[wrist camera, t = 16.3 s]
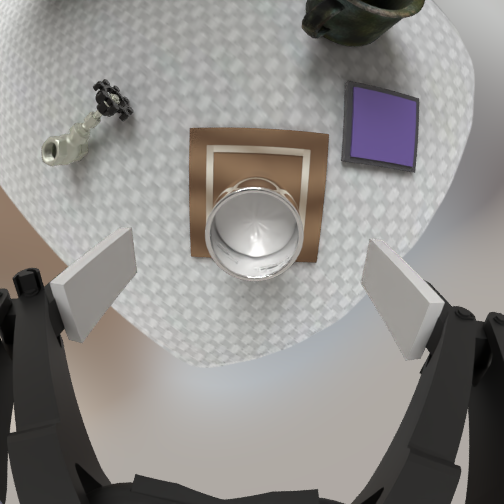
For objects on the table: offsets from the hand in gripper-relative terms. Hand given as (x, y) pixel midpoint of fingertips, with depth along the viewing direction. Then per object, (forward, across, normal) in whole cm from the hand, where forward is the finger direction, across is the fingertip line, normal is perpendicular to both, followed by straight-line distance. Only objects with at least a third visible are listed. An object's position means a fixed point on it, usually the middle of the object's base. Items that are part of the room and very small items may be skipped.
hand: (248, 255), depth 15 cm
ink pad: (+20, +15, +9) cm, 27 cm away
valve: (+20, -21, +8) cm, 31 cm away
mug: (+20, +9, +23) cm, 32 cm away
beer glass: (+19, 0, 0) cm, 19 cm away
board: (+20, 0, -1) cm, 20 cm away
